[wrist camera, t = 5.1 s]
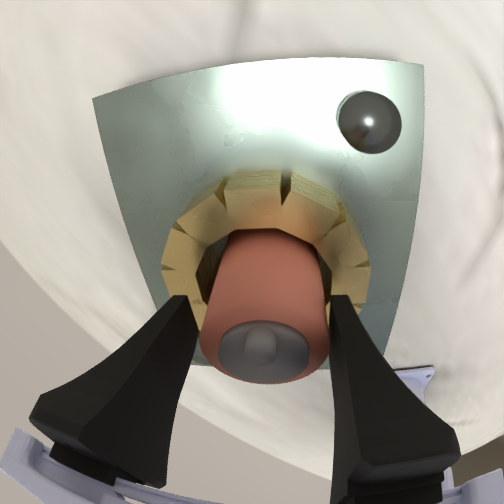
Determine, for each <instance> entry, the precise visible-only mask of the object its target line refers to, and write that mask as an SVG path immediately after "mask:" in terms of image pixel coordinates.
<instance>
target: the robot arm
mask: <svg viewBox="0 0 504 504" xmlns="http://www.w3.org/2000/svg"><path fill="white" fill-rule="evenodd" d="M328 331H329V339H330V351H329V354H328V356H329V364H330V372H331V380H332V389H333V398H334V410H335V431H334V458H333V474H332V487H331V497H330V504H504V479H503V473H502V469H497V470H495V471H492V472H490V473H487V474H484V475H482V476H479V477H476V478H474V479H472V480H469V481H467V482H466V483H464V484H463V485H462V486H459V487H456V488H454V483H453V476H452V470H451V467H450V466H451V465H453V464H454V463H455V462H457V461H458V460H459V458H460V456H461V452H460V447H459V442H458V439H457V436H456V433H455V431H454V429H453V428H452V427H450V426H449V425H448V424H447V423H445V422H444V421H443V420H442V419H441V418H439V417H438V416H437V415H436V414H435V413H433V412H432V411H431V410H430V409H429V408H428V407H427V406H426V402H425V397H424V393H423V392H424V390H425V388H426V387H427V385H428V383H429V381H430V380H431V378H432V376H433V374H434V373H435V368H434V367H426V368H418V369H409V370H400V371H394V370H393V369H392V368H391V366H390V365H389V364H388V362H387V361H386V360H385V358H384V357H383V355H382V354H381V352H380V351H379V350H378V348H377V347H376V345H375V343H374V342H373V340H372V339H371V337H370V335H369V334H368V332H367V330H366V329H365V327H364V325H363V324H362V322H361V320H360V318H359V316H358V314H357V312H356V310H355V308H354V306H353V304H352V302H351V300H350V297H349V296H348V295H347V294H344V295H331V298H330V312H329V324H328ZM198 333H199V329H198V326H197V323H196V320H195V317H194V314H193V311H192V308H191V305H190V302H189V298H188V295H173V296H172V297H171V298H170V299H169V300H168V301H167V302H166V303H165V304H164V305H163V306H162V307H161V308H160V309H159V310H158V311H157V312H156V313H155V314H154V315H153V316H152V317H151V318H150V319H149V320H148V321H147V322H146V323H145V324H144V325H143V326H142V327H141V328H140V329H139V330H138V331H137V332H136V333H135V334H134V335H133V336H132V337H131V338H130V339H129V340H128V341H126V342H125V343H124V344H123V345H122V346H121V347H120V348H119V349H117V350H116V351H115V352H114V353H112V354H111V355H110V356H109V357H107V358H106V359H105V360H104V361H102V362H101V363H99V364H98V365H96V366H95V367H93V368H91V369H90V370H88V371H87V372H85V373H84V374H82V375H81V376H79V377H77V378H75V379H74V380H72V381H70V382H68V383H66V384H64V385H62V386H60V387H58V388H55V389H53V390H51V391H48V392H46V393H44V394H41V395H40V397H39V399H38V401H37V402H36V404H35V406H34V408H33V410H32V412H31V414H30V416H29V420H30V422H31V423H32V424H33V425H34V426H35V427H36V428H37V429H38V430H40V431H41V432H42V433H43V434H45V435H46V436H47V437H48V438H50V439H51V440H52V441H54V442H55V443H54V445H53V447H52V449H50V448H49V447H47V446H45V445H44V444H43V443H42V442H40V441H39V440H38V439H36V438H35V437H33V436H32V435H30V434H28V433H26V432H25V431H23V430H21V429H20V428H18V427H16V428H15V430H14V432H13V435H12V436H11V439H10V441H9V443H8V445H7V447H6V450H5V452H4V454H3V456H2V458H1V461H0V470H1V471H3V472H4V473H5V474H6V475H8V476H9V477H10V478H12V479H13V480H14V481H15V482H17V483H18V484H19V485H20V486H22V487H23V488H24V489H25V490H27V491H28V492H29V493H30V494H32V495H33V496H34V497H36V498H37V499H38V500H39V501H41V502H42V503H44V504H132V503H130V502H127V501H125V498H124V497H123V496H125V497H128V498H131V499H134V500H137V501H140V502H143V503H146V504H222V503H215V502H209V501H204V500H198V499H193V498H189V497H184V496H179V495H175V494H171V493H167V492H163V491H159V490H155V489H152V488H148V487H145V486H142V485H148V486H151V487H154V488H158V489H160V488H162V487H164V486H165V485H166V478H167V464H168V455H169V447H170V440H171V433H172V427H173V422H174V417H175V413H176V408H177V404H178V400H179V397H180V393H181V391H182V388H183V385H184V382H185V379H186V376H187V373H188V370H189V367H190V364H191V361H192V358H193V355H194V352H195V348H196V343H197V338H198ZM136 483H138V484H136ZM139 484H142V485H139Z"/></svg>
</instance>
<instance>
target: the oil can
mask: <svg viewBox="0 0 504 504" xmlns="http://www.w3.org/2000/svg"><path fill="white" fill-rule="evenodd" d="M199 344H200V348H201V351H202V353H203V355H204V356H205V358H206V359H207V360H208V362H209V363H210V364H211V365H213V366H214V367H215V368H216V369H218V370H219V371H221V372H222V373H224V374H226V375H228V376H230V377H233V378H235V379H238V380H242V381H245V382H250V383H257V384H281V383H287V382H291V381H295V380H298V379H301V378H303V377H306V376H308V375H309V374H311V373H313V372H314V371H316V370H317V369H318V368H319V367H320V366H321V365H322V364H323V363H324V362H325V360H326V358H327V356H328V354H329V351H330V339H329V331H328V322H327V314H326V306H325V299H324V291H323V284H322V277H321V271H320V264H319V257H318V251H317V249H316V248H315V246H314V245H313V244H311V243H309V242H307V241H305V240H302V239H300V238H298V237H296V236H294V235H292V234H289V233H287V232H285V231H283V230H281V229H278V228H257V229H236V230H234V231H232V232H231V233H229V235H228V239H227V242H226V245H225V249H224V252H223V255H222V259H221V262H220V266H219V269H218V272H217V276H216V279H215V283H214V286H213V290H212V293H211V296H210V300H209V303H208V307H207V310H206V314H205V318H204V321H203V325H202V328H201V332H200V336H199Z"/></svg>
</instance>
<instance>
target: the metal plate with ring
mask: <svg viewBox="0 0 504 504" xmlns="http://www.w3.org/2000/svg"><path fill="white" fill-rule="evenodd" d="M92 100H93V105H94V110H95V115H96V119H97V124H98V128H99V133H100V137H101V141H102V145H103V149H104V153H105V157H106V161H107V165H108V168H109V172H110V176H111V179H112V183H113V186H114V190H115V193H116V196H117V200H118V203H119V206H120V210H121V213H122V216H123V219H124V222H125V225H126V228H127V231H128V234H129V237H130V240H131V243H132V246H133V249H134V251H135V254H136V257H137V260H138V262H139V265H140V268H141V271H142V273H143V276H144V278H145V281H146V284H147V286H148V289H149V291H150V294H151V296H152V299H153V301H154V304H155V306H156V308H157V311H158V310H159V309H160V308H161V307H162V306H163V305H164V304H165V303H166V302H167V301H168V300H169V299H170V298H171V297H172V296H173V295H188V298H189V302H190V305H191V308H192V311H193V314H194V317H195V320H196V323H197V326H198V329H199V333H198V338H197V343H196V348H195V352H194V355H193V358H192V361H191V364H190V365H201V366H213V365H211V364H210V363H209V362H208V360H207V359H206V358H205V356H204V355H203V353H202V351H201V348H200V344H199V336H200V332H201V328H202V325H203V321H204V318H205V314H206V310H207V307H208V303H209V300H210V296H211V293H212V290H213V286H214V283H215V279H216V276H217V272H218V269H219V266H220V262H221V259H222V255H223V252H224V249H225V245H226V242H227V239H228V235H229V233H231V232H232V231H234V230H236V229H257V228H278V229H281V230H283V231H285V232H287V233H289V234H292V235H294V236H296V237H298V238H300V239H302V240H305V241H307V242H309V243H311V244H313V245H314V246H315V248H316V249H317V251H318V257H319V264H320V271H321V277H322V284H323V291H324V299H325V306H326V314H327V322H328V324H329V312H330V298H331V295H344V294H347V295H348V296H349V297H350V300H351V302H352V304H353V306H354V308H355V310H356V312H357V314H358V316H359V318H360V320H361V322H362V324H363V325H364V327H365V329H366V330H367V332H368V334H369V335H370V337H371V339H372V340H373V342H374V343H375V345H376V347H377V348H378V350H379V351H380V352H381V354H382V355H384V352H385V348H386V345H387V342H388V339H389V335H390V332H391V329H392V325H393V322H394V318H395V314H396V311H397V307H398V303H399V299H400V295H401V291H402V287H403V282H404V278H405V273H406V269H407V264H408V259H409V254H410V249H411V243H412V238H413V232H414V226H415V219H416V212H417V205H418V197H419V189H420V179H421V169H422V156H423V140H424V66H423V65H422V64H415V63H407V62H398V61H388V60H376V59H358V58H297V59H280V60H267V61H256V62H247V63H239V64H232V65H225V66H218V67H212V68H206V69H200V70H195V71H190V72H185V73H180V74H176V75H171V76H167V77H163V78H159V79H155V80H151V81H147V82H143V83H140V84H136V85H133V86H129V87H126V88H122V89H119V90H116V91H113V92H110V93H107V94H104V95H101V96H98V97H95V98H92ZM213 367H214V366H213ZM318 369H330V364H329V356H327V358H326V360H325V362H324V363H323V364H322V365H321V366H320V367H319V368H318Z"/></svg>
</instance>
